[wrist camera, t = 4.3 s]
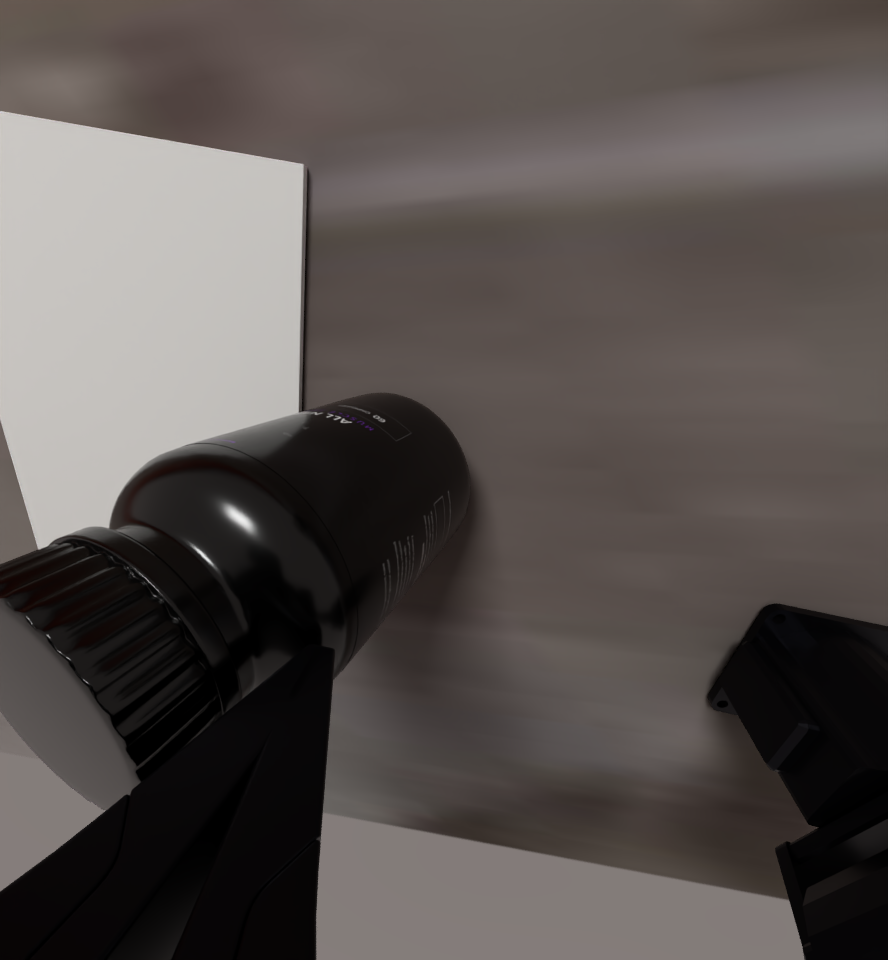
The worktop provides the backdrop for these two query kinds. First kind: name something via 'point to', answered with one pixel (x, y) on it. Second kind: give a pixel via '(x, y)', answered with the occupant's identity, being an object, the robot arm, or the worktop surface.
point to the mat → (138, 306)
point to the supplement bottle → (220, 581)
